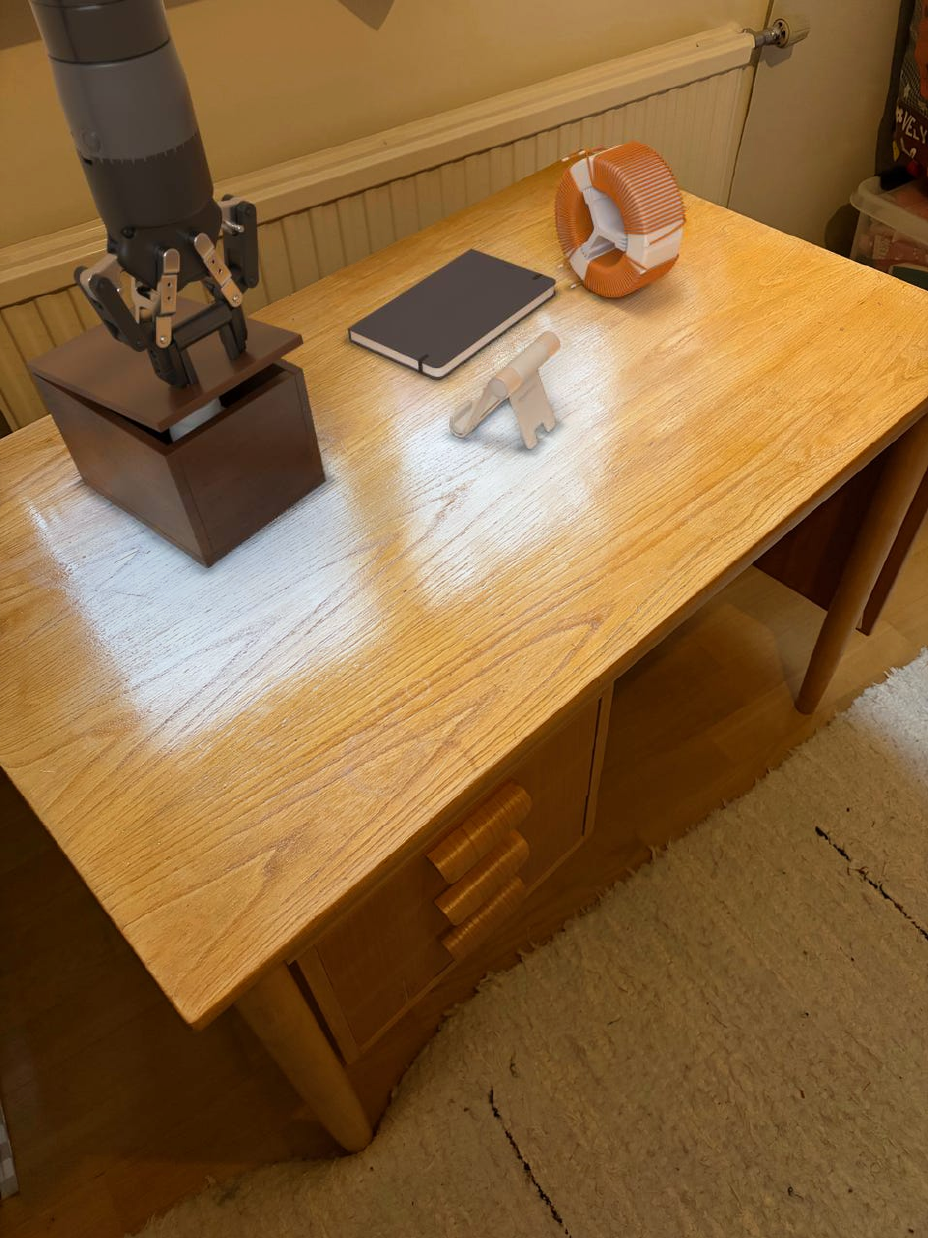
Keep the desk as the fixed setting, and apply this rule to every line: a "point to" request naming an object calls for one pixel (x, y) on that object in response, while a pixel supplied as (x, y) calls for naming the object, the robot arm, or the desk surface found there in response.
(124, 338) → the robot arm
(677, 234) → the coil
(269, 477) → the chest
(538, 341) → the tablet stand
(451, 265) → the notebook
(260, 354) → the lid
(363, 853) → the desk surface
